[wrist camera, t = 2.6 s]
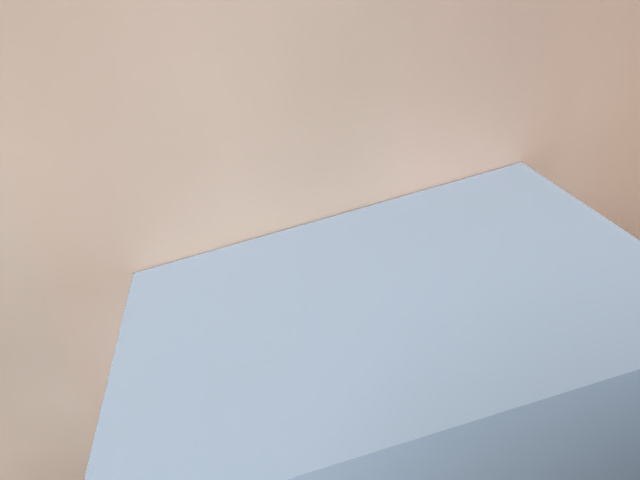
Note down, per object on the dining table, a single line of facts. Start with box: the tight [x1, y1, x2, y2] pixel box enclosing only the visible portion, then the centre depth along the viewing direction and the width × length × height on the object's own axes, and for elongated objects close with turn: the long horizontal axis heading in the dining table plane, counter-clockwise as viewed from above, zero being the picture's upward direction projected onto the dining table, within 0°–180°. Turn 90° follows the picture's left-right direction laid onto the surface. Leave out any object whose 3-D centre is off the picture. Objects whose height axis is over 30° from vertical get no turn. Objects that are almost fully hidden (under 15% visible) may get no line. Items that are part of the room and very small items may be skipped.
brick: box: [84, 162, 640, 480], centre depth 7 cm, size 6×6×4 cm
